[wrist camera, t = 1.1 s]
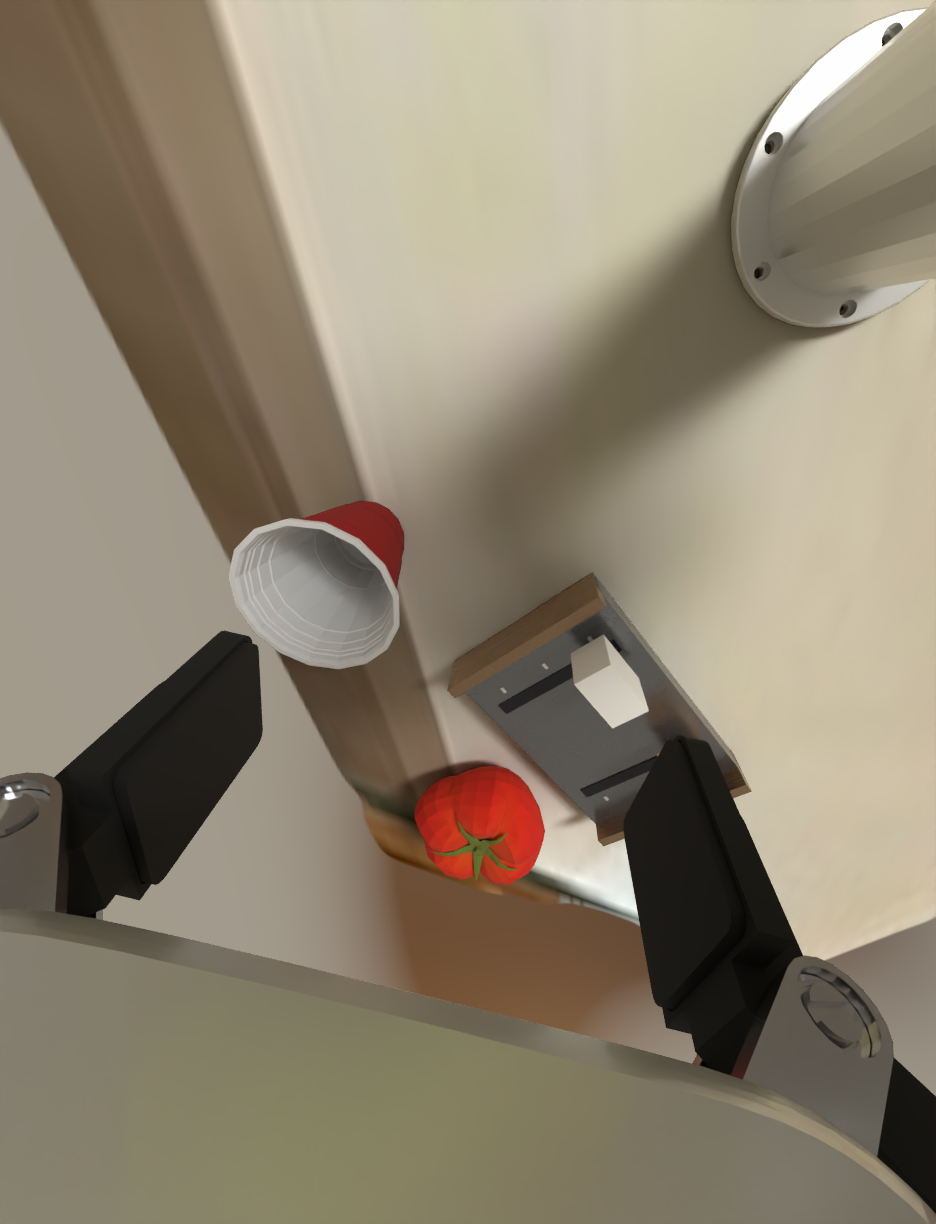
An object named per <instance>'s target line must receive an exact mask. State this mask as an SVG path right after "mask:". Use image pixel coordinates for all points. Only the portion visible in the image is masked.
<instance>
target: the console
mask: <svg viewBox="0 0 936 1224" xmlns="http://www.w3.org/2000/svg"><path fill="white" fill-rule="evenodd" d="M603 634H604V636H605V637H606V638H607V639H608V640H609V642H610V643H611V644H612V645H613V647H614V648H615V649H616V650H617V652H618V653H619V654H620V655H621V657H622V658H623V659H624V660H625V662H626V663H627V664H628V665H629V666H630V668H631V669H632V670H633V671H634V673H635V674H636V675H637V676H638V678H639V681H640V684H641V687H642V690H643V693H644V697H645V700H646V703H647V706H648V710H649V711H648V712H646V713H644V714H642V715H640V716H638V717H636V718H634V719H631V720H629V721H627V722H625V723H623V724H621V725H619V726H617V727H615V728H612V727H611V726H610V725H609V724H608V723H607V722H606V720H605V719H604V718H603V717H602V716H601V715H600V714H599V712H598V711H597V710H596V709H595V708H594V707H593V706H592V705H591V703H590V702H589V701H588V700H587V699H586V698H585V697H584V695H583V694H582V693H581V692H580V691H579V690H578V689H577V687H576V686H575V685H574V680H573V671H572V662H571V653H572V652H574V651H576V650H577V649H579V648H581V647H583V646H584V645H586V644H588V643H589V642H591V641H593V640H595V639H596V638H598V637H600V636H602V635H603ZM447 691H448V692H449V693H450V694H451V695H452V696H453V697H454V698H456V697H458V696H459V695H461V694H463V693H464V692H466V693H467V694H468V695H469V696H470V697H471V698H472V699H473V700H474V701H475V702H476V703H477V704H478V705H479V706H480V707H481V708H482V709H483V710H484V711H485V712H486V713H487V714H488V715H489V716H490V717H491V718H492V719H493V720H494V721H495V722H496V723H497V724H498V725H499V726H500V727H501V728H502V729H503V731H504V732H505V733H506V734H507V735H508V736H509V737H510V738H511V739H512V740H513V741H514V742H515V743H516V744H517V745H518V746H519V747H520V748H521V749H522V750H523V751H524V752H525V753H526V754H527V755H528V756H529V757H530V758H531V759H532V760H533V761H534V762H535V763H536V764H537V765H538V766H539V767H540V768H541V769H542V770H543V771H544V772H545V773H546V774H547V775H548V776H549V777H550V778H551V779H552V780H553V781H554V782H555V783H556V784H557V785H558V786H559V787H560V788H561V789H562V790H563V791H564V792H565V793H566V794H567V795H568V796H569V797H570V798H571V799H572V800H573V801H574V802H575V803H576V804H577V805H578V806H579V807H580V808H581V809H582V810H583V811H584V813H585V814H586V815H587V816H588V817H589V818H590V819H591V820H592V821H593V822H594V823H595V824H596V828H597V836H598V841H599V842H600V843H601V844H602V845H603V846H606V845H608V844H611V843H614V842H616V841H619V840H622V839H625V837H624V831H623V824H624V819H625V816H626V813H627V812H628V810H629V808H630V806H631V804H632V802H633V801H634V799H635V797H636V795H637V793H638V792H639V790H640V788H641V786H642V784H643V783H644V781H645V779H646V777H647V775H648V773H649V772H650V770H651V768H652V766H653V764H654V763H655V761H656V759H657V754H659V753H660V752H661V750H662V748H663V746H664V744H665V743H666V741H668V740H674V739H675V738H676V737H677V736H678V735H682V736H686V737H691V738H695V739H699V740H704V741H706V742H708V743H709V745H710V747H711V749H712V751H713V754H714V756H715V758H716V761H717V763H718V765H719V767H720V770H721V772H722V774H723V777H724V779H725V781H726V784H727V786H728V788H729V790H730V793H731V795H732V797H733V798H735V797H738V796H741V795H743V794H746V793H749V792H751V789H750V787H749V785H748V783H747V781H746V779H745V777H744V775H743V773H742V771H741V769H740V767H739V765H738V762H737V760H736V758H735V756H734V754H733V753H732V752H731V750H730V749H729V748H728V747H727V745H726V744H725V743H724V741H723V740H722V739H721V737H720V736H719V735H718V734H717V732H716V731H715V730H714V728H713V727H712V726H711V725H710V723H709V722H708V721H707V719H706V718H705V717H704V716H703V714H702V713H701V712H700V710H699V709H698V708H697V707H696V705H695V704H694V703H693V701H692V700H691V699H690V697H689V696H688V695H687V694H686V692H685V691H684V690H683V688H682V687H681V686H680V685H679V683H678V682H677V681H676V679H675V678H674V677H673V676H672V674H671V673H670V672H669V670H668V669H667V668H666V666H665V665H664V664H663V663H662V661H661V660H660V659H659V657H658V656H657V655H656V654H655V652H654V651H653V650H652V648H651V647H650V646H649V645H648V643H647V642H646V641H645V639H644V638H643V637H642V636H641V634H640V633H639V632H638V630H637V629H636V628H635V626H634V625H633V624H632V623H631V621H630V620H629V619H628V617H627V616H626V615H625V614H624V612H623V611H622V610H621V608H620V607H619V606H618V605H617V603H616V602H615V601H614V599H613V598H612V597H611V596H610V594H609V593H608V592H607V590H606V589H605V588H604V586H603V585H602V584H601V583H600V581H599V580H598V579H597V577H596V576H595V575H594V574H593V572H592V573H591V574H589V575H588V576H586V577H585V578H583V579H582V580H580V581H578V582H577V583H575V584H574V585H572V586H571V587H569V588H568V589H566V590H565V591H563V592H561V593H560V594H558V595H557V596H555V597H554V598H552V599H551V600H549V601H547V602H546V603H544V604H543V605H541V606H540V607H538V608H537V609H535V610H533V611H532V612H530V613H529V614H527V615H526V616H524V617H523V618H521V619H520V620H518V621H516V622H515V623H513V624H512V625H510V626H509V627H507V628H506V629H504V630H502V631H501V632H499V633H498V634H496V635H495V636H493V637H492V638H490V639H488V640H487V641H485V642H484V643H482V644H481V645H479V646H478V647H476V648H474V649H473V650H471V651H470V652H468V653H467V654H465V655H464V656H462V657H461V658H459V659H457V660H456V661H455V663H454V667H453V671H452V674H451V678H450V682H449V686H448V690H447Z"/></svg>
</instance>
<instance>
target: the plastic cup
mask: <svg viewBox="0 0 936 1224" xmlns="http://www.w3.org/2000/svg"><path fill="white" fill-rule="evenodd" d="M403 550H404V532H403V530H402V527H401V525H400V522H399V520H398V519H397V517H396V516H395V515H394V514H393V513H392V512H391V511H390V510H389V509H388V508H386V507H384V506H382V505H380V504H378V503H375V502H367V501H358V502H354V503H351V504H346V505H342V506H339V507H336V508H333V509H329V510H327V511H324V512H321V513H318V514H316V515H312V516H309V517H306V518H302V519H292V518H289V519H285V520H282V521H279V522H275V523H272V524H269V525H265V526H262V527H259V528H256V529H254V530H253V531H252V532H251V533H250V534H249V535H248V536H247V537H246V538H245V539H244V540H243V541H242V542H241V543H240V544H239V545H238V546H237V547H236V548H235V549H234V554H233V558H232V563H231V567H230V572H229V576H228V577H229V581H230V585H231V590H232V594H233V597H234V602H235V605H236V607H237V609H238V610H239V611H240V613H241V614H242V616H243V617H244V619H245V620H246V622H247V623H248V625H249V626H250V627H251V629H252V630H253V632H254V633H256V634H257V635H258V636H259V637H261V638H262V639H263V640H264V641H266V642H267V643H268V644H269V645H270V646H272V647H273V648H274V649H275V650H277V651H278V652H279V653H282V654H284V655H286V656H289V657H291V658H293V659H295V660H298V661H300V662H302V663H305V664H307V665H311V666H319V667H326V668H334V669H342V668H347V667H352V666H357V665H362V664H367V663H368V662H369V661H371V660H372V659H374V658H375V657H377V656H378V655H380V654H381V653H383V652H384V651H386V650H387V649H388V647H389V645H390V643H391V642H392V640H393V638H394V636H395V634H396V632H397V630H398V628H399V593H398V591H397V584H398V579H399V574H400V569H401V564H402V554H403Z"/></svg>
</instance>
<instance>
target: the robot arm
mask: <svg viewBox="0 0 936 1224" xmlns="http://www.w3.org/2000/svg"><path fill="white" fill-rule="evenodd" d="M881 40H884V41H885V45H884V46H882V41H881ZM765 144H769V145H770V146H771V151H770V153H769V154H767V153H766V152H765V149H764V145H765ZM731 239H732V251H733V256H734V260H735V265H736V270H737V272H738V274H739V277H740V279H741V281H742V283H743V286H744V288H745V290H746V291H747V292H748V294H749V295H750V296H751V297H752V299H753V300H754V301H755V303H756V304H757V305H758V306H759V307H761V308H762V309H763V310H764V311H766V312H767V313H768V314H770V315H771V316H772V317H775V318H777V319H779V320H781V321H784V322H786V323H788V324H792V325H798V326H804V327H832V326H840V325H847V324H851V323H854V322H857V321H860V320H863V319H866V318H869V317H872V316H875V315H877V314H879V313H881V312H883V311H885V310H887V309H888V308H890V307H892V306H894V305H896V304H898V303H900V302H901V301H903V300H904V299H905V298H907V297H908V296H910V295H911V294H913V293H914V292H915V291H917V290H918V289H920V288H921V287H923V286H924V285H925V284H926V283H927V282H928V281H929V280H930V279H934V278H936V1H935V2H934V3H932V4H931V5H930V6H929V7H927V8H919V9H911V10H903V11H900V12H897V13H894V14H891V15H889V16H886V17H883V18H880V19H878V20H875V21H872V22H870V23H869V24H867V25H865V26H864V27H862V28H860V29H858V30H857V31H855V32H853V33H852V34H850V35H848V36H846V37H845V38H843V39H842V40H841V41H839V42H838V43H837V44H836V45H834V46H833V47H832V48H831V49H830V50H828V51H827V52H826V53H825V54H823V55H822V56H821V57H820V58H818V59H817V60H816V61H815V62H814V63H813V64H812V65H811V66H810V67H809V68H808V69H807V70H806V71H805V72H804V73H803V74H802V75H801V76H800V77H799V78H798V79H797V80H796V81H795V83H794V84H793V85H792V86H791V88H790V89H789V90H788V91H787V93H786V94H785V95H784V96H783V97H782V99H781V100H780V101H779V102H778V104H777V105H776V106H775V107H774V109H773V110H772V112H771V114H770V115H769V117H768V119H767V120H766V122H765V123H764V125H763V127H762V128H761V130H760V132H759V133H758V135H757V136H756V139H755V141H754V143H753V145H752V148H751V150H750V152H749V154H748V157H747V159H746V161H745V163H744V165H743V169H742V172H741V176H740V179H739V182H738V186H737V189H736V193H735V198H734V205H733V212H732V219H731ZM756 268H758V269H759V270H760V276H759V277H758V278H755V277H754V271H755V269H756ZM841 306H843V307H844V310H843V312H842V313H841V314H840V313H839V310H840V308H841ZM262 730H263V728H262V709H261V690H260V670H259V651H258V646H257V645H255V644H252V640H251V638H250V637H249V636H245V635H241V634H236V633H232V632H228V631H221V632H220V633H218V634H217V635H216V636H215V637H214V638H213V639H211V640H210V641H209V642H208V643H207V644H206V645H205V646H204V647H203V648H201V649H200V650H199V651H198V652H197V653H196V654H195V655H193V656H192V657H191V658H190V659H189V660H188V661H187V662H186V663H185V664H183V665H182V666H181V667H180V668H179V669H178V670H177V671H176V672H175V673H174V674H172V675H171V676H170V677H169V678H168V679H167V680H166V681H164V682H162V683H161V684H159V685H158V686H157V687H156V688H154V689H153V690H152V691H151V692H150V693H149V694H148V695H147V696H145V697H144V698H143V699H142V700H141V701H140V702H139V703H137V704H136V705H135V706H134V707H133V708H132V709H131V710H130V711H129V712H127V713H126V714H125V715H124V716H123V717H122V718H121V719H119V720H118V722H116V723H115V724H114V725H113V726H112V727H110V728H109V729H108V730H107V731H106V732H105V733H104V734H103V735H101V736H100V737H99V738H98V739H97V740H96V741H95V742H94V743H93V744H91V745H90V746H89V747H88V748H87V749H86V750H85V751H83V752H82V753H81V754H80V755H79V756H78V757H77V758H76V759H74V760H73V761H72V762H71V763H70V764H69V765H68V766H67V767H65V768H64V769H63V770H62V771H61V772H60V773H59V774H58V775H56V776H55V777H51V776H48V775H45V774H42V773H21V774H15V775H9V776H6V777H3V778H0V1224H936V1096H935V1095H933V1094H932V1093H931V1092H930V1091H929V1090H928V1089H927V1088H926V1087H925V1086H924V1085H923V1084H922V1083H920V1081H918V1080H917V1079H916V1078H915V1077H914V1076H913V1075H912V1074H911V1073H910V1072H909V1071H908V1070H906V1068H904V1067H903V1066H902V1065H901V1064H900V1063H899V1062H898V1061H897V1060H896V1059H895V1058H894V1054H893V1041H892V1038H891V1035H890V1033H889V1030H888V1027H887V1024H886V1022H885V1021H884V1019H883V1017H882V1015H881V1014H880V1012H879V1010H878V1009H877V1007H876V1006H875V1004H874V1003H873V1002H872V1000H871V999H870V998H869V997H868V995H867V994H866V993H865V992H864V990H863V989H862V988H861V987H860V986H859V985H858V984H856V983H855V982H854V981H853V980H852V979H851V978H850V977H849V976H848V975H847V974H845V973H844V972H843V971H841V970H839V969H838V968H837V967H835V966H834V965H833V964H830V963H828V962H826V961H824V960H822V959H819V958H817V957H811V956H803V955H802V952H801V950H800V948H799V945H798V943H797V941H796V939H795V936H794V934H793V932H792V929H791V927H790V925H789V923H788V920H787V918H786V916H785V913H784V911H783V909H782V906H781V904H780V902H779V900H778V897H777V895H776V893H775V890H774V888H773V886H772V884H771V881H770V879H769V877H768V874H767V872H766V870H765V868H764V865H763V863H762V861H761V858H760V856H759V854H758V852H757V849H756V847H755V845H754V842H753V840H752V838H751V836H750V833H749V831H748V829H747V826H746V824H745V822H744V820H743V819H742V817H741V815H740V814H739V811H738V809H737V807H736V804H735V802H734V800H733V797H732V795H731V793H730V790H729V788H728V786H727V784H726V781H725V779H724V777H723V774H722V772H721V770H720V767H719V765H718V763H717V761H716V758H715V756H714V754H713V751H712V749H711V747H710V745H709V743H708V742H706V741H704V740H699V739H695V738H691V737H686V736H682V735H678V736H677V737H676V738H675V739H674V740H668V741H666V743H665V744H664V746H663V748H662V750H661V752H660V753H659V755H658V757H657V759H656V761H655V763H654V764H653V766H652V768H651V770H650V772H649V773H648V775H647V777H646V779H645V781H644V783H643V784H642V786H641V788H640V790H639V792H638V793H637V795H636V797H635V799H634V801H633V802H632V804H631V806H630V808H629V810H628V812H627V813H626V816H625V819H624V824H623V831H624V837H625V843H626V848H627V854H628V860H629V865H630V871H631V877H632V882H633V888H634V893H635V899H636V905H637V910H638V916H639V922H640V927H641V933H642V938H643V943H644V949H645V955H646V961H647V966H648V972H649V977H650V983H651V989H652V994H653V998H654V1000H655V1003H656V1004H657V1005H658V1006H660V1007H662V1009H663V1014H664V1019H665V1024H666V1028H669V1029H673V1030H677V1031H681V1032H685V1033H690V1034H692V1039H693V1043H694V1047H695V1052H696V1053H697V1056H696V1057H695V1060H694V1061H693V1064H691V1063H687V1062H684V1061H680V1060H676V1059H672V1058H669V1057H665V1056H661V1055H658V1054H654V1053H650V1052H646V1051H643V1050H639V1049H635V1048H632V1047H628V1046H624V1045H621V1044H617V1043H613V1042H609V1041H605V1040H601V1039H597V1038H593V1037H589V1036H585V1035H581V1034H577V1033H573V1032H569V1031H565V1030H561V1029H557V1028H553V1027H549V1026H545V1025H541V1024H537V1023H533V1022H529V1021H525V1020H521V1019H517V1018H513V1017H509V1016H505V1015H500V1014H497V1013H493V1012H489V1011H485V1010H481V1009H477V1008H472V1007H468V1006H464V1005H460V1004H456V1003H452V1002H448V1001H444V1000H440V999H436V998H432V997H428V996H423V995H419V994H415V993H411V992H407V991H403V990H399V989H395V988H391V987H386V986H382V985H378V984H374V983H370V982H365V981H362V980H358V979H353V978H349V977H345V976H341V975H337V974H333V973H329V972H325V971H320V970H317V969H312V968H308V967H304V966H300V965H296V964H291V963H287V962H283V961H278V960H275V959H270V958H266V957H262V956H258V955H253V954H249V953H245V952H241V951H236V950H232V949H228V948H224V947H220V946H215V945H211V944H207V943H203V942H199V941H195V940H190V939H186V938H181V937H177V936H173V935H168V934H164V933H158V932H154V931H149V930H145V929H140V928H136V927H131V926H127V925H122V924H117V923H113V922H108V921H104V920H103V909H105V908H106V907H107V905H108V904H109V903H110V902H111V900H112V899H113V898H114V896H115V895H120V896H124V897H128V898H132V899H136V900H140V899H141V898H142V897H143V895H144V894H145V892H146V891H147V889H148V888H149V887H150V885H151V884H154V885H156V884H158V883H160V882H161V881H162V880H163V879H164V878H165V876H166V875H167V874H168V872H169V871H170V869H171V868H172V867H173V865H174V864H175V862H176V861H177V860H178V858H179V857H180V855H181V854H182V852H183V851H184V850H185V848H186V847H187V845H188V844H189V843H190V841H191V840H192V838H193V837H194V835H195V834H196V833H197V831H198V830H199V828H200V827H201V826H202V824H203V823H204V821H205V820H206V818H207V817H208V816H209V814H210V813H211V811H212V810H213V808H214V807H215V805H216V804H217V803H218V801H219V800H220V799H221V797H222V796H223V794H224V793H225V791H226V790H227V789H228V787H229V786H230V784H231V783H232V781H233V780H234V779H235V777H236V776H237V774H238V773H239V772H240V770H241V769H242V767H243V766H244V764H245V763H246V762H247V760H248V759H249V757H250V756H251V755H252V753H253V752H254V750H255V749H256V747H257V746H258V744H259V742H260V740H261V737H262Z"/></svg>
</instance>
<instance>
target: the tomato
mask: <svg viewBox="0 0 936 1224" xmlns="http://www.w3.org/2000/svg"><path fill="white" fill-rule="evenodd" d="M415 820H416V823H417V826H418V829H419V831H420V833H421V834H422V836H423V838H424V843H425V847H426V851H427V855H428V857H429V858H430V859H431V860H432V861H433V862H434V863H435V865H437V866H438V867H439V868H440V869H441V870H442V871H443V872H444V873H445V874H446V875H447V876H451V877H455V878H460V879H465V878H468V877H472V876H475V878H476V880H477V878H478V875H479V874H482V875H483V876H485V877H486V878H487V879H489V880H490V881H491V882H493V883H494V884H510V883H512V882H514V881H516V880H517V879H519V878H521V877H522V876H524V875H526V874H527V873H529V871H530V870H531V869H532V867H533V866H534V864H535V862H536V859H537V857H538V855H539V852H540V849H541V846H542V842H543V838H544V833H545V829H544V825H543V820H542V816H541V812H540V808H539V806H538V804H537V802H536V800H535V798H534V796H533V794H532V793H531V791H530V789H529V787H528V786H527V784H526V783H525V782H524V781H523V780H522V779H521V778H520V777H519V776H518V775H516V774H515V773H513V772H512V771H510V770H509V769H506V768H502V767H498V766H485V767H479V768H475V769H472V770H468V771H465V772H463V773H461V774H459V775H457V776H448V777H446V778H443V779H441V780H439V781H437V782H436V783H434V784H433V785H432V786H430V787H429V788H428V789H427V790H426V791H425V793H424V794H423V795H422V796H421V798H420V799H419V801H418V803H417V805H416V807H415Z"/></svg>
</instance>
